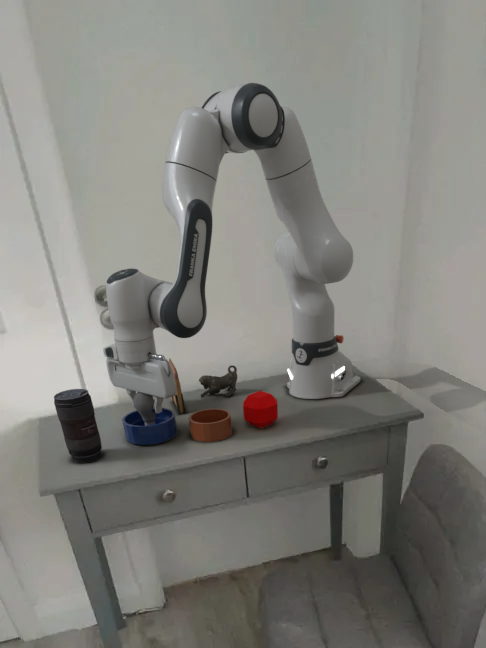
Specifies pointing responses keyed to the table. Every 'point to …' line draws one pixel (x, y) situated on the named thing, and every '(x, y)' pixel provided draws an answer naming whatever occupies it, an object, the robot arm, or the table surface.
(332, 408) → the table surface
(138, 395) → the light bulb
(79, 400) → the camera lens
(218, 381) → the dog figurine
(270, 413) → the ball
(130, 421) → the blue bowl
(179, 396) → the ammunition clip
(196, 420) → the terracotta dish
